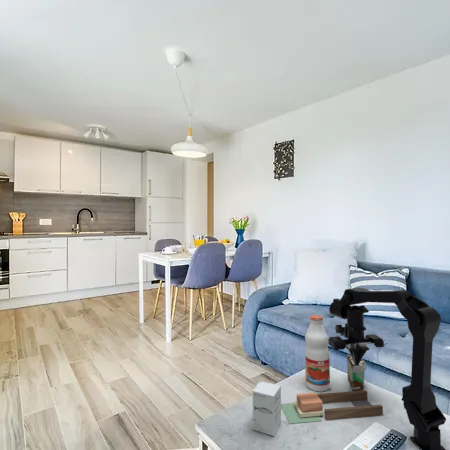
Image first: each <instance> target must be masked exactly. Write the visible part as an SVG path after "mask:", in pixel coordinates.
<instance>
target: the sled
mask: <svg viewBox="0 0 450 450" xmlns="http://www.w3.org/2000/svg"><path fill="white" fill-rule="evenodd" d="M317 394H318V393H317V392H306V393H296V401H293V403H294V407H295V409H296V410H297V412H298V414H299V416H300V418H301V417H313V416H319V417H321V416H322V417H323V416H324V407H323V406H324V405H323V402H322V401H321V399H320V398H319V397H318V395H317Z"/></svg>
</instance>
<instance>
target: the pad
mask: <svg viewBox="0 0 450 450" xmlns="http://www.w3.org/2000/svg"><path fill="white" fill-rule="evenodd" d="M281 410H282V411H283V413H284V415H285V418H286V420H287V422H288V424H289V425H293V424H295V425H296V424H305V423H315V422H322V421H323V420H322V418H321V416H313V417H301V418H300V416H299V414H298V412H297V410H296V409H295V407H294V402H288V403H281Z"/></svg>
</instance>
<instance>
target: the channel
mask: <svg viewBox="0 0 450 450" xmlns="http://www.w3.org/2000/svg"><path fill="white" fill-rule="evenodd" d="M316 394H317V395H318V397H319V398H320V399H321V401H322V402H323V404H333V403H335V404H336V403H347V402H349V403H350V402H351V401H361V400H368V398H369V397H368V395H369V394H368V390H366V389H362V390H361V391H352V390H349V391H338V392H337V391H336V392H323V393H322V392H320V393H316ZM368 401H369V400H368ZM323 416H324V420H325V421H331V420H332V421H333V420H343V419H355V418H365V417H366V418H367V417H368V418H369V417H378V416H384V406H383V405H382V404H372V405H367V406H344V407H334V408H333V407H330V408H323Z"/></svg>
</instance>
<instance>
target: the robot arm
mask: <svg viewBox="0 0 450 450" xmlns="http://www.w3.org/2000/svg"><path fill="white" fill-rule="evenodd" d="M365 303H376V304H377V303H378V304H379V303H381V304H382V303H383V304H384V303H385V304H394V305H396V307H397V309H398V311H399V313H400V314H401V315H402V317H403V318H404V319H405V320H406V321H407V328H408V330H409V333H410V334H411V336H412V353H411V355H412V356H411V376H410V377H411V379H410V384H408V385H405V386H403V387H402V389H401V390H402V391H401V392H402V397H401V399H400V400H401V402H402V403H403V408H404V409H405V412H406V416H407V418H408V421H409V424H411V426H413V436H409V440H410V441H411V442H412V443H414V445H415V446H416V447H418V448H419V449H420V450H447V449H446V448H445V447H444V446H442V443H441V442H442V441H441V438H442V437H441V429H440V427H441V426H443V425H445V423H446V421H447V418H446V416H445V415H444V414H443V412H442V411H441V409H440V408H439V407H438V405H437V401H436V396H435V392H433V389H432V387H431V384H432V381H431V380H432V360H433V343H434V342H433V341H434V338H435V337H436V336H437V333H438V331H439V330H440V325H441V321H442V318H441V314H440V313H439V312H438V311H437V310H436V309H435V308H433V307H431V306H429V304H428V303H426V302H424V300H422V299H420V298H418V297H416V296H414V295H413V294H412V293H411V292H410V291H408V290H406V289H399V290H369V289H368V288H362V287H355V288H354V287H353V288H347V289H344V291H343V294H342V296H341V298H333V299H332V302H331V304H330V306H329V308H328V309H329V313H330V314H331V315H332V316H334V317H336V318H339V319H342V320H346V323H344V326H343V325H342V324H335V327H334V329H335V333H336V334H340V336H342V337H343V336H344V338H346V339H343V338H342V337H340V336H337V335H336V336H330V337H328V346H330V347H331V348H333V350H336V351H340V350H341V351H343V350H345V349H347V350H348V351H349V353H350V354H349V355H351V356H352V359H353V362H354V364H355V365H356V366H358V365H359V363H360V361H361V359H363V357H364V356H365V354H366V353H367V351H370V347H368V344H370V345H371V344H373V346H374V347H376V348H384V347H385V342H384V339H383V338H382V337H380V336H378V335H377V334H366V335H365V331H367V328H366V326H365V319H364V318H365V316H364V315H365V314H367V313H369V312H370V311H369V309H368V308H366V306H365V305H361V304H365ZM358 305H359V306H358Z"/></svg>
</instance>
